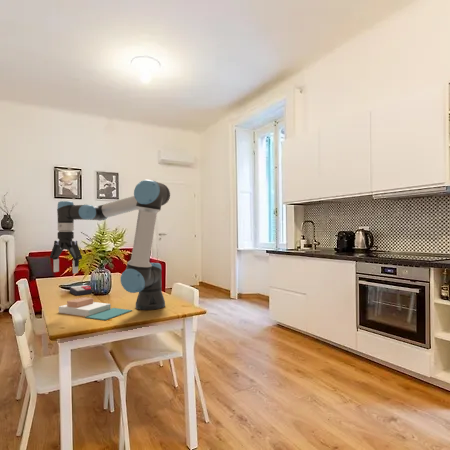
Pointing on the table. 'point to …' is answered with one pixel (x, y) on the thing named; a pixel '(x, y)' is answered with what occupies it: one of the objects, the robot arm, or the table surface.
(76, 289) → the calculator
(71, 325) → the table surface
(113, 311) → the mat
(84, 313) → the panel
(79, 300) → the tile
